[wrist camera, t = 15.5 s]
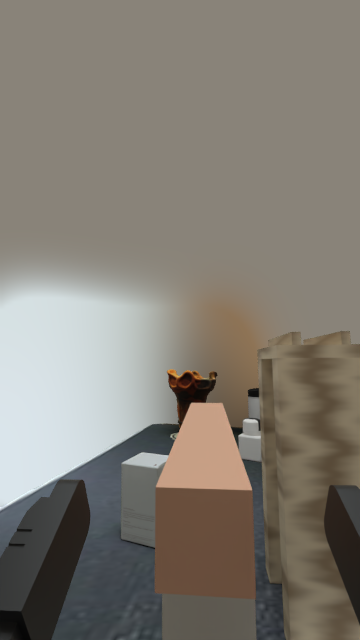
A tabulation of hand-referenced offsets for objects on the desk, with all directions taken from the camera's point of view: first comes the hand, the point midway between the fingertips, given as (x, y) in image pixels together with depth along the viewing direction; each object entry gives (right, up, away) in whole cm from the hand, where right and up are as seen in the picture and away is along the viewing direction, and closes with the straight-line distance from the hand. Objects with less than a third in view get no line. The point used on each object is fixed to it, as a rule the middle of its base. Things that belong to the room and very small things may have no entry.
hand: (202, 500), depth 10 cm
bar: (+1, -5, +12) cm, 14 cm away
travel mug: (+29, -41, +109) cm, 120 cm away
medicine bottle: (+23, -38, +88) cm, 98 cm away
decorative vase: (+4, -42, +116) cm, 124 cm away
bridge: (+16, -30, +28) cm, 44 cm away
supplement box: (-6, -32, +45) cm, 55 cm away
